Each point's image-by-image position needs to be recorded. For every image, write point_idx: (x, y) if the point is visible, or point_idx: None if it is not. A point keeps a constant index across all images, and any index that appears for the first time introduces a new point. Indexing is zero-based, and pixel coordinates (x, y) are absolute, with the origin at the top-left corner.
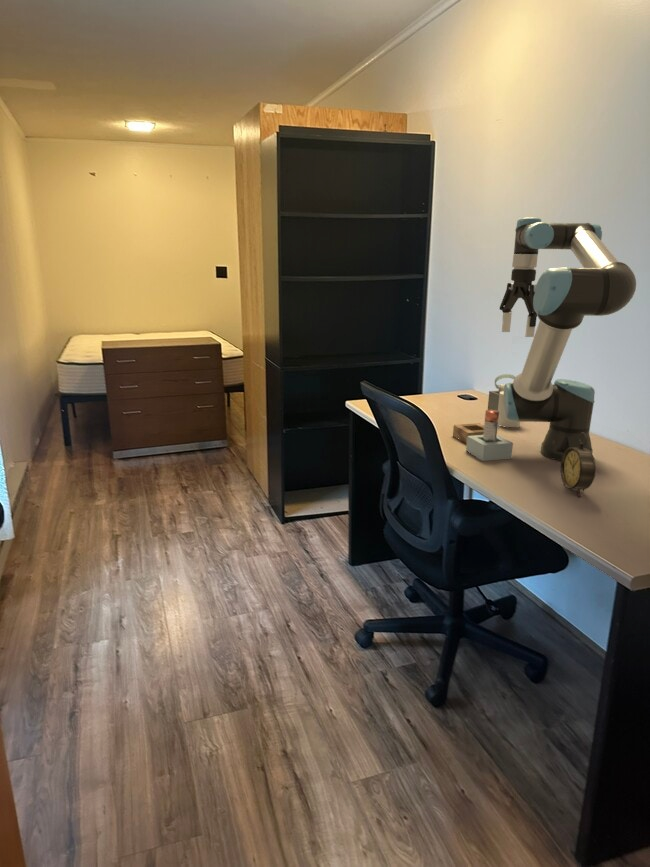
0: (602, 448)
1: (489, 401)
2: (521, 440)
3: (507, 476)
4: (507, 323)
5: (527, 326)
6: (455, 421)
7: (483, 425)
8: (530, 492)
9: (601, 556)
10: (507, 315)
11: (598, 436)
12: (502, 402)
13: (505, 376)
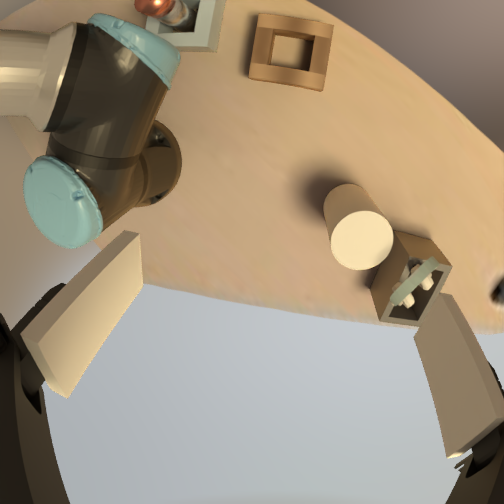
0: (153, 246)
1: (439, 253)
2: (241, 145)
3: (100, 10)
4: (444, 365)
5: (80, 273)
6: (425, 126)
7: (300, 83)
8: (57, 19)
9: None
10: (468, 416)
11: (210, 295)
12: (359, 202)
13: (412, 278)
